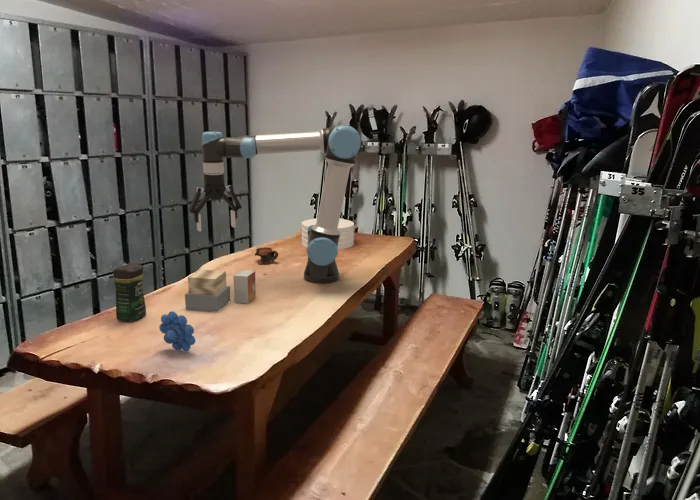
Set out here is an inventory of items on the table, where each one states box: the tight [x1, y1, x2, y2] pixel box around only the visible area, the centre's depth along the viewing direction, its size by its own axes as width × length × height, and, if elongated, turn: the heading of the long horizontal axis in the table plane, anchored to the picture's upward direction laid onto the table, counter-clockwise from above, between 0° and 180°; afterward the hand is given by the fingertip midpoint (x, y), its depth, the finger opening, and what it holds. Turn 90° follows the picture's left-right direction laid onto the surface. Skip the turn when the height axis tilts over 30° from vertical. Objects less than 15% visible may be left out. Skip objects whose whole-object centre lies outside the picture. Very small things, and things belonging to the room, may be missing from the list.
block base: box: [184, 285, 232, 313], centre depth 195 cm, size 12×12×6 cm
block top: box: [187, 269, 227, 295], centre depth 194 cm, size 10×10×6 cm
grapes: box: [158, 311, 196, 352], centre depth 156 cm, size 12×7×12 cm, turn 72°
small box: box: [232, 269, 257, 304], centre depth 200 cm, size 8×6×10 cm
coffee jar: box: [112, 262, 147, 323], centre depth 180 cm, size 10×8×19 cm
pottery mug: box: [254, 246, 279, 265], centre depth 252 cm, size 12×10×8 cm
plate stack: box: [301, 217, 355, 250], centre depth 290 cm, size 28×28×12 cm
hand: (216, 228), depth 208 cm, fingers open, 13 cm apart
